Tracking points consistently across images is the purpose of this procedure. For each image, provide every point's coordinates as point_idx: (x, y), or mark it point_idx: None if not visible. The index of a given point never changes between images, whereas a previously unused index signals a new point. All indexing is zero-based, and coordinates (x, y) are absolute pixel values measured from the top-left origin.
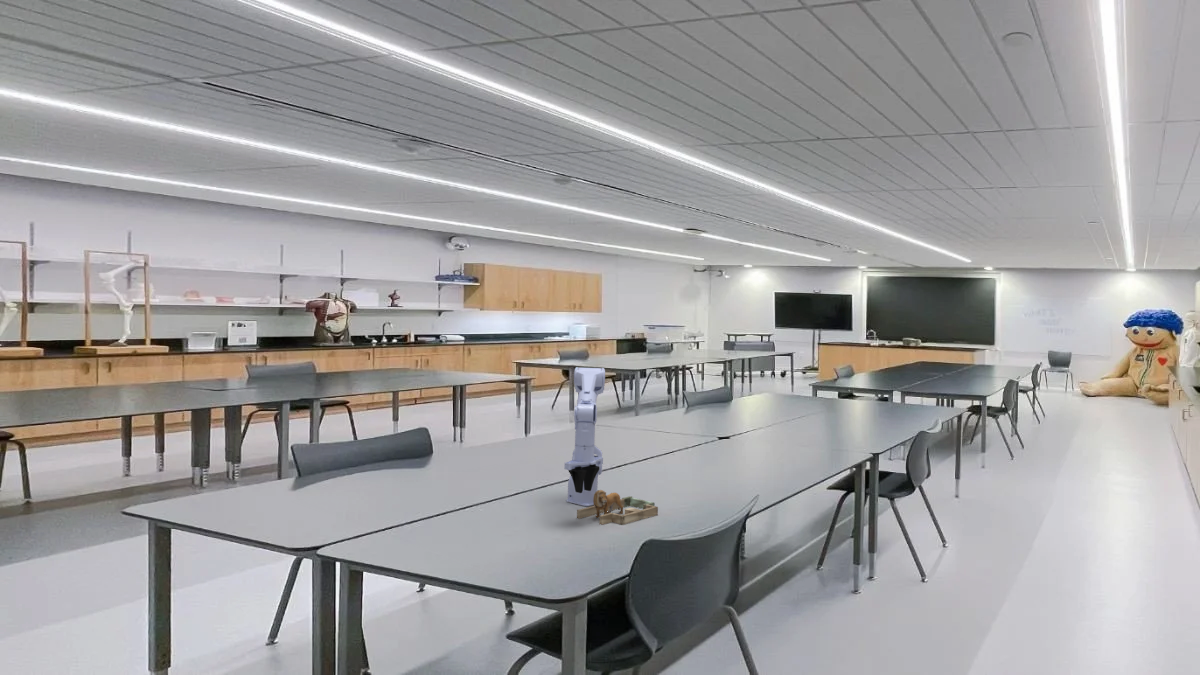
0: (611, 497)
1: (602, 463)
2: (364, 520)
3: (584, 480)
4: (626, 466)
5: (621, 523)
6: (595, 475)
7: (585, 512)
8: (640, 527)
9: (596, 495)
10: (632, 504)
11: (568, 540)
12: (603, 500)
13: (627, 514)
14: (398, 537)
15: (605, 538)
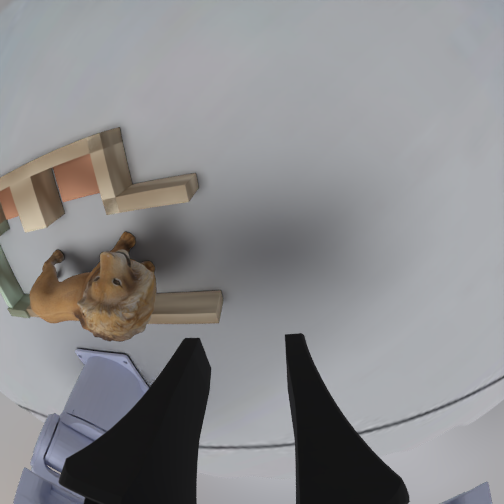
0: (60, 295)
1: (25, 472)
2: (480, 405)
3: (199, 425)
4: (19, 403)
5: (117, 132)
6: (119, 428)
7: (183, 304)
8: (85, 65)
9: (138, 312)
10: (17, 291)
11: (462, 105)
12: (121, 259)
13: (66, 152)
14: None
15: (335, 9)
